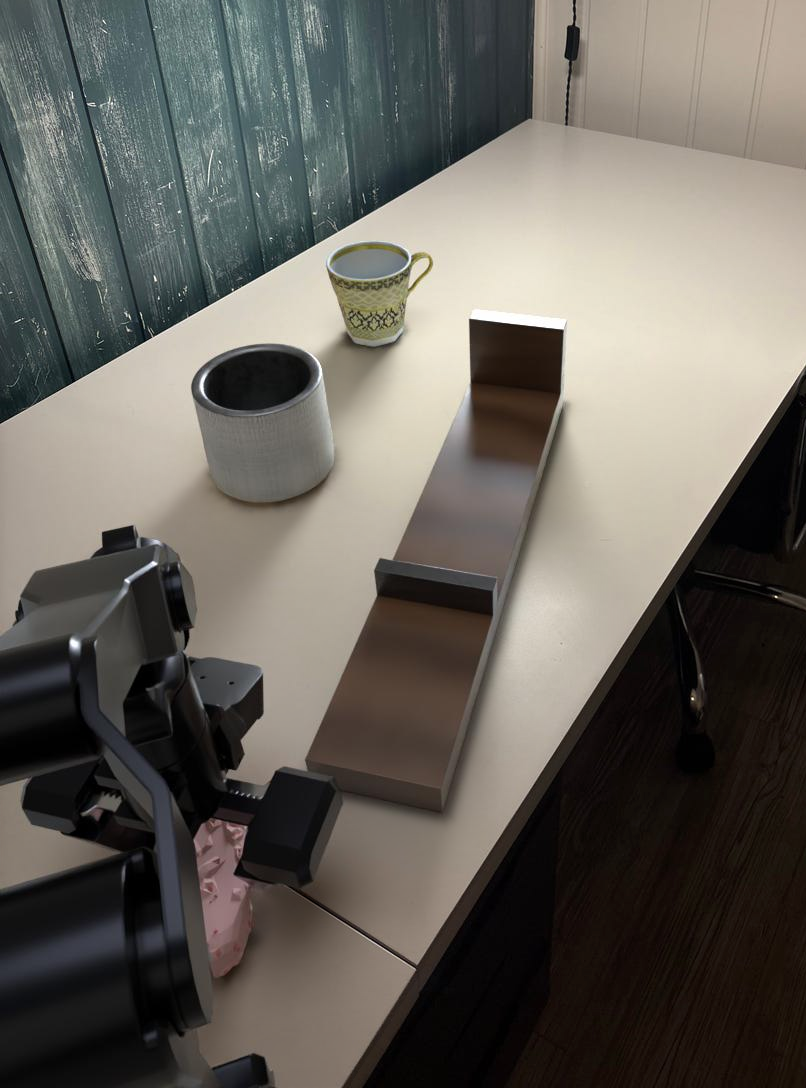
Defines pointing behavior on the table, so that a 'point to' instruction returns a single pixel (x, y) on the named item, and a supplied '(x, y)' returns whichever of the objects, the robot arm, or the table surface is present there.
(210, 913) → the ice cream bar
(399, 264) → the ceramic cup
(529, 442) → the shelf
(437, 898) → the table surface
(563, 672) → the table surface
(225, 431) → the planter
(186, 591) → the robot arm
